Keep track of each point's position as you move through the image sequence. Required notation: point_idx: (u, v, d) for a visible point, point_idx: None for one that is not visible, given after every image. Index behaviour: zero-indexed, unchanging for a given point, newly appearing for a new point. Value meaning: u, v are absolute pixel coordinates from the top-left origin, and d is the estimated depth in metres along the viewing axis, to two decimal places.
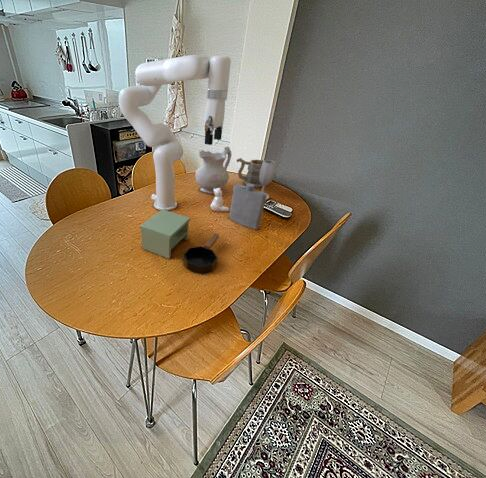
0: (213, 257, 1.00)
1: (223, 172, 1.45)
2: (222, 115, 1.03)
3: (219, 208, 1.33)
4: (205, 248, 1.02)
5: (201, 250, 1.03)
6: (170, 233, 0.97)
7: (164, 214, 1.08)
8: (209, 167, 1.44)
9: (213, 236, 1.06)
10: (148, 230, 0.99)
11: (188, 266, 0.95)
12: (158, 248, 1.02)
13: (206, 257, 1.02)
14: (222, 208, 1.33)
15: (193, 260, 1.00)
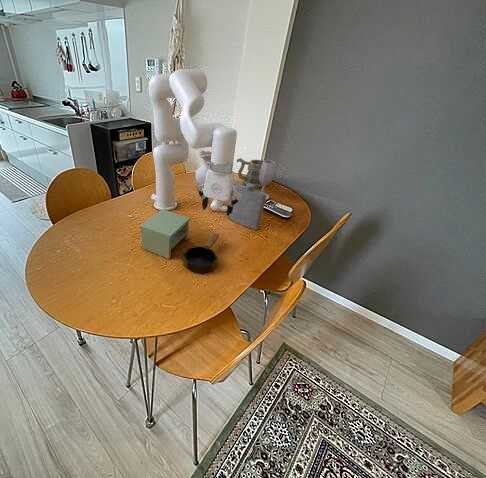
0: (213, 257, 1.00)
1: None
2: None
3: (219, 208, 1.33)
4: (205, 248, 1.02)
5: (201, 250, 1.03)
6: (170, 233, 0.97)
7: (164, 214, 1.08)
8: (209, 167, 1.44)
9: (213, 236, 1.06)
10: (148, 230, 0.99)
11: (188, 266, 0.95)
12: (158, 248, 1.02)
13: (206, 257, 1.02)
14: (222, 208, 1.33)
15: (193, 260, 1.00)
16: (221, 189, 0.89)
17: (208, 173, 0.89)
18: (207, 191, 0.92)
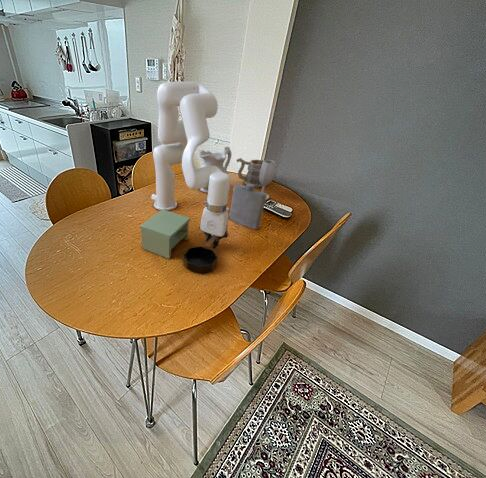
0: (213, 257, 1.00)
1: (223, 172, 1.45)
2: None
3: None
4: (205, 248, 1.02)
5: (201, 250, 1.03)
6: (170, 233, 0.97)
7: (164, 214, 1.08)
8: None
9: (213, 236, 1.06)
10: (148, 230, 0.99)
11: (188, 266, 0.95)
12: (158, 248, 1.02)
13: (206, 257, 1.02)
14: None
15: (193, 260, 1.00)
16: (216, 226, 0.98)
17: (204, 211, 0.98)
18: (203, 227, 1.01)
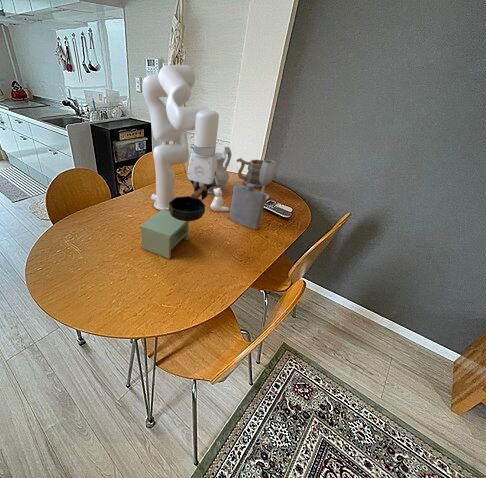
0: (201, 206, 0.93)
1: (223, 172, 1.45)
2: None
3: (219, 208, 1.33)
4: (192, 197, 0.95)
5: (188, 200, 0.97)
6: (170, 233, 0.97)
7: (164, 214, 1.08)
8: None
9: (201, 187, 1.00)
10: (148, 230, 0.99)
11: (173, 214, 0.89)
12: (158, 248, 1.02)
13: (193, 207, 0.95)
14: (222, 208, 1.33)
15: (179, 210, 0.94)
16: (204, 172, 0.91)
17: (191, 156, 0.91)
18: (191, 174, 0.95)
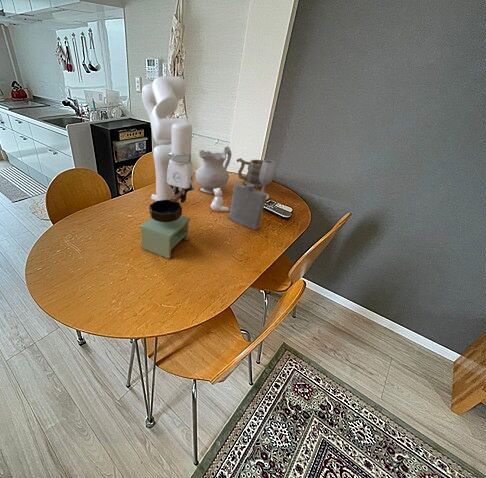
0: (179, 209, 1.02)
1: (223, 172, 1.45)
2: None
3: (219, 208, 1.33)
4: (171, 201, 1.04)
5: (168, 203, 1.05)
6: (170, 233, 0.97)
7: None
8: (209, 167, 1.44)
9: (181, 191, 1.08)
10: (148, 230, 0.99)
11: (152, 215, 0.97)
12: (158, 248, 1.02)
13: (172, 210, 1.04)
14: (222, 208, 1.33)
15: (159, 212, 1.02)
16: (181, 177, 1.00)
17: (169, 163, 1.00)
18: (170, 180, 1.03)
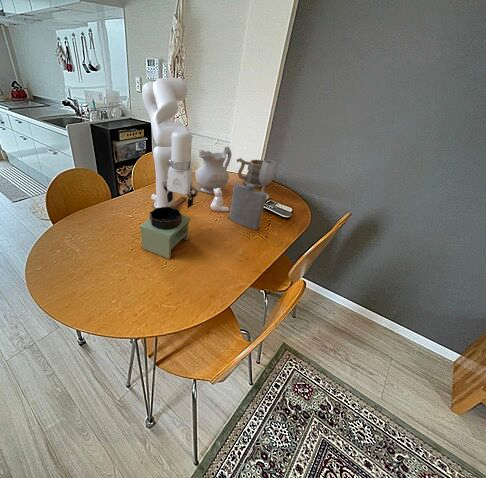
0: (178, 216, 1.04)
1: (223, 172, 1.45)
2: None
3: (219, 208, 1.33)
4: (171, 208, 1.06)
5: (168, 210, 1.07)
6: (170, 233, 0.97)
7: None
8: (209, 167, 1.44)
9: (181, 198, 1.10)
10: (148, 230, 0.99)
11: (153, 223, 0.99)
12: (158, 248, 1.02)
13: (172, 217, 1.06)
14: (222, 208, 1.33)
15: (159, 219, 1.04)
16: (181, 184, 1.02)
17: (169, 170, 1.01)
18: (170, 186, 1.05)
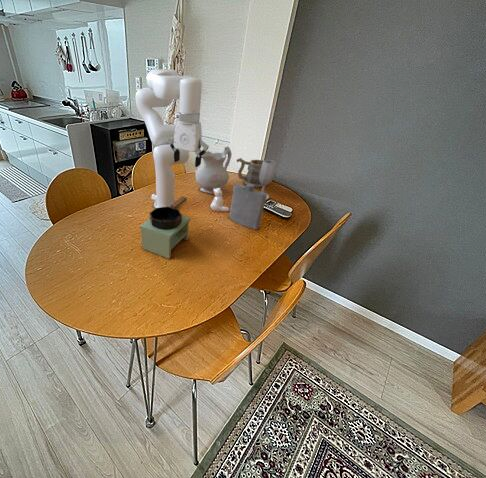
0: (178, 216, 1.04)
1: (223, 172, 1.45)
2: None
3: (219, 208, 1.33)
4: (171, 208, 1.06)
5: (168, 210, 1.07)
6: (170, 233, 0.97)
7: None
8: (209, 167, 1.44)
9: (181, 198, 1.10)
10: (148, 230, 0.99)
11: (153, 223, 0.99)
12: (158, 248, 1.02)
13: (172, 217, 1.06)
14: (222, 208, 1.33)
15: (159, 219, 1.04)
16: (189, 139, 0.95)
17: (177, 124, 0.95)
18: (177, 142, 0.99)
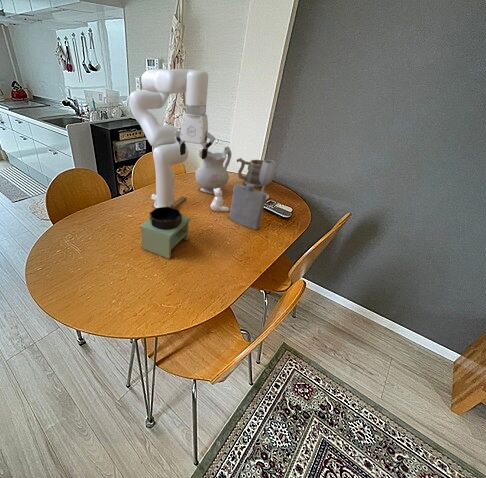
0: (178, 216, 1.04)
1: (223, 172, 1.45)
2: None
3: (219, 208, 1.33)
4: (171, 208, 1.06)
5: (168, 210, 1.07)
6: (170, 233, 0.97)
7: None
8: (209, 167, 1.44)
9: (181, 198, 1.10)
10: (148, 230, 0.99)
11: (153, 223, 0.99)
12: (158, 248, 1.02)
13: (172, 217, 1.06)
14: (222, 208, 1.33)
15: (159, 219, 1.04)
16: (195, 131, 0.97)
17: (184, 116, 0.97)
18: (183, 135, 1.00)
